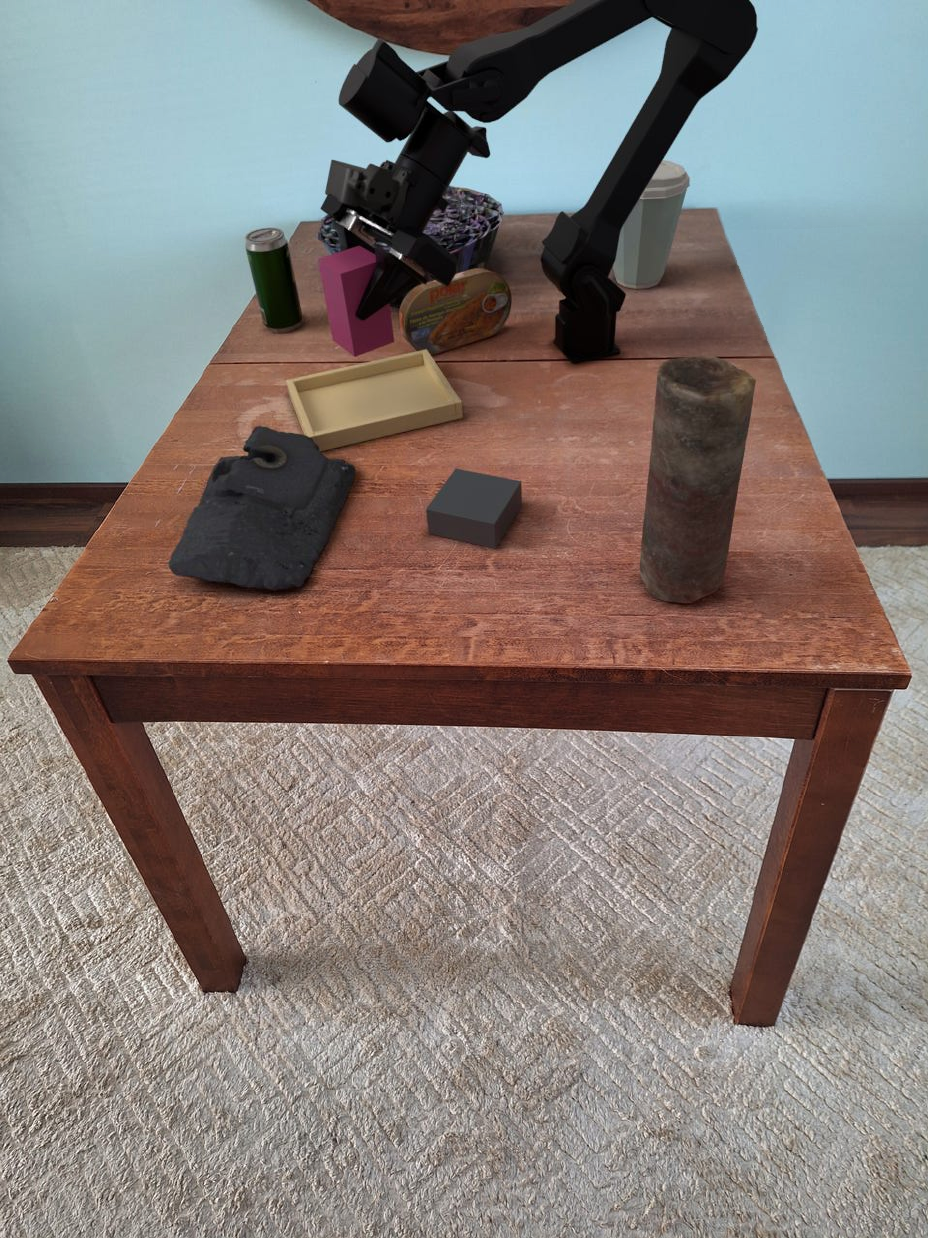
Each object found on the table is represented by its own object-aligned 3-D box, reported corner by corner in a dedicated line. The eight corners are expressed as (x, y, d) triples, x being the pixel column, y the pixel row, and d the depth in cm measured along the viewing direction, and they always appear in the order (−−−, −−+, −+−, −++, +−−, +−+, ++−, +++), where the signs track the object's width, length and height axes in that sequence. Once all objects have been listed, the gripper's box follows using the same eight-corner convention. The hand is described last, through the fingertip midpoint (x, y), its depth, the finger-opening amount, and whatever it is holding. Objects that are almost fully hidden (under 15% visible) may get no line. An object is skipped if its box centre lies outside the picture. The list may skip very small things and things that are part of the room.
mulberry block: (371, 326, 97) (359, 245, 91) (394, 341, 94) (383, 259, 88) (332, 340, 95) (317, 258, 89) (354, 357, 92) (340, 273, 86)
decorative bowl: (295, 308, 126) (277, 240, 118) (400, 226, 140) (390, 161, 133) (442, 342, 115) (433, 271, 108) (540, 250, 130) (537, 181, 122)
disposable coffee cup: (631, 258, 126) (639, 145, 116) (694, 276, 121) (709, 160, 110) (585, 283, 121) (590, 168, 111) (649, 303, 116) (660, 184, 105)
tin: (409, 362, 108) (402, 297, 102) (399, 352, 110) (391, 287, 104) (514, 330, 113) (512, 265, 107) (502, 321, 115) (499, 257, 109)
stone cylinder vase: (629, 553, 80) (647, 351, 66) (708, 545, 80) (743, 342, 66) (649, 610, 74) (673, 403, 60) (733, 601, 74) (778, 393, 60)
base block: (457, 492, 88) (455, 467, 86) (522, 505, 86) (521, 481, 84) (428, 533, 84) (425, 508, 81) (495, 548, 81) (494, 523, 79)
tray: (428, 364, 108) (426, 348, 106) (463, 417, 98) (461, 401, 97) (289, 395, 104) (285, 379, 103) (311, 453, 95) (307, 437, 93)
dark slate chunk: (147, 590, 80) (129, 551, 77) (229, 456, 96) (217, 418, 92) (304, 600, 78) (294, 560, 74) (363, 461, 93) (356, 422, 90)
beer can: (274, 337, 115) (253, 246, 107) (258, 323, 119) (236, 234, 110) (310, 325, 117) (292, 235, 109) (293, 312, 121) (274, 223, 112)
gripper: (320, 104, 87) (247, 245, 91) (419, 143, 76) (331, 303, 80) (396, 168, 96) (326, 295, 100) (495, 212, 84) (413, 354, 88)
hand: (346, 310), depth 91 cm, fingers closed on mulberry block, 5 cm apart
